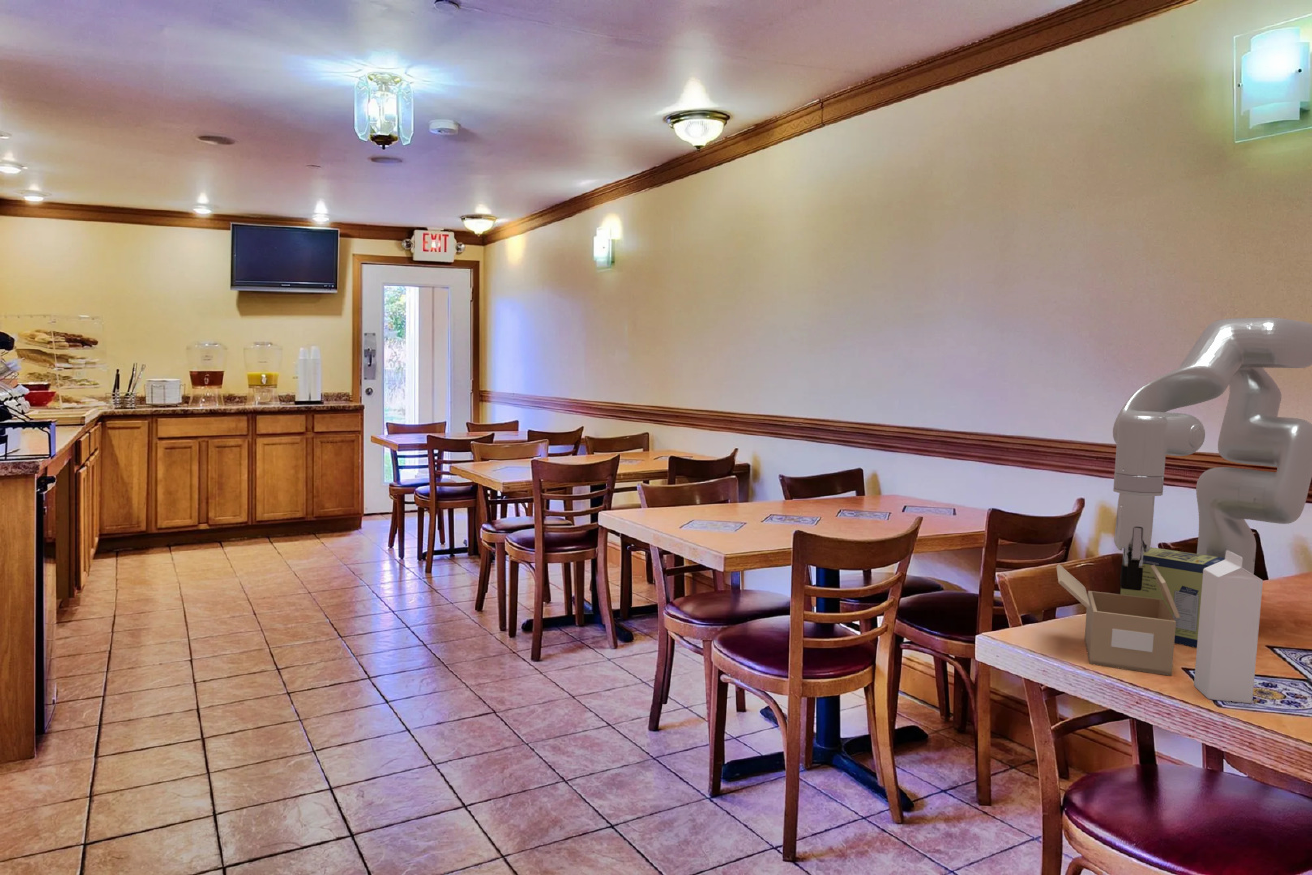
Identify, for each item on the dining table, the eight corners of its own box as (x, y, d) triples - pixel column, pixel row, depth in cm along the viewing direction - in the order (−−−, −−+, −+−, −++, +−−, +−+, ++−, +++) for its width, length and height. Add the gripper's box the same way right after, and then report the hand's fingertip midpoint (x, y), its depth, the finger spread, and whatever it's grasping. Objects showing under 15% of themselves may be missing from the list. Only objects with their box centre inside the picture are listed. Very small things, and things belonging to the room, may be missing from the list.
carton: (1084, 638, 161) (1087, 590, 160) (1158, 648, 156) (1162, 599, 156) (1089, 664, 146) (1093, 611, 146) (1171, 676, 142) (1176, 621, 141)
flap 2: (1163, 597, 155) (1150, 565, 156) (1167, 596, 155) (1154, 564, 155) (1176, 618, 141) (1161, 583, 142) (1180, 617, 141) (1165, 582, 142)
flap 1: (1082, 589, 160) (1056, 565, 162) (1085, 587, 160) (1058, 563, 162) (1087, 608, 147) (1058, 582, 148) (1089, 605, 146) (1061, 580, 148)
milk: (1235, 690, 136) (1248, 551, 134) (1252, 704, 130) (1266, 559, 129) (1192, 685, 137) (1204, 548, 136) (1207, 699, 132) (1220, 555, 130)
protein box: (1133, 620, 174) (1139, 544, 173) (1223, 639, 163) (1230, 558, 162) (1115, 630, 167) (1121, 550, 166) (1208, 651, 156) (1215, 565, 155)
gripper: (1110, 478, 159) (1103, 577, 161) (1117, 487, 146) (1109, 595, 147) (1157, 481, 156) (1150, 582, 158) (1168, 491, 143) (1160, 601, 144)
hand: (1130, 588), depth 152 cm, fingers closed
